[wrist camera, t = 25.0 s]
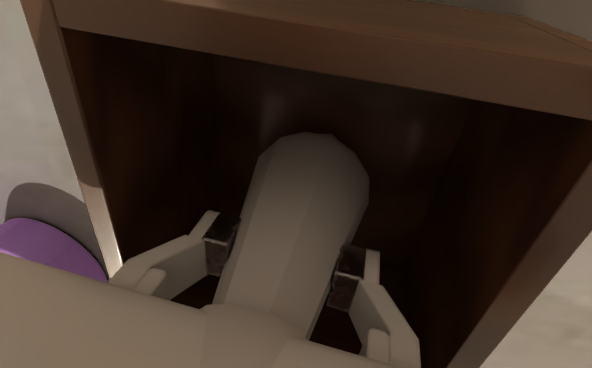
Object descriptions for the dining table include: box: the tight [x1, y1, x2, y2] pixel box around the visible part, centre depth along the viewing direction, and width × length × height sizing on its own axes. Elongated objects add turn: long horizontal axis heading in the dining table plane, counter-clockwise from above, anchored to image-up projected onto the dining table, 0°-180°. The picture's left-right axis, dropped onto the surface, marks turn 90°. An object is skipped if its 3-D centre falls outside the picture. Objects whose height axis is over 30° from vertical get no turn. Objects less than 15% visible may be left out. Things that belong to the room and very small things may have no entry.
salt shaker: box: [200, 132, 370, 368], centre depth 13 cm, size 6×6×13 cm
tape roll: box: [0, 218, 107, 283], centre depth 32 cm, size 12×12×4 cm
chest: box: [20, 0, 592, 368], centre depth 16 cm, size 16×15×10 cm
